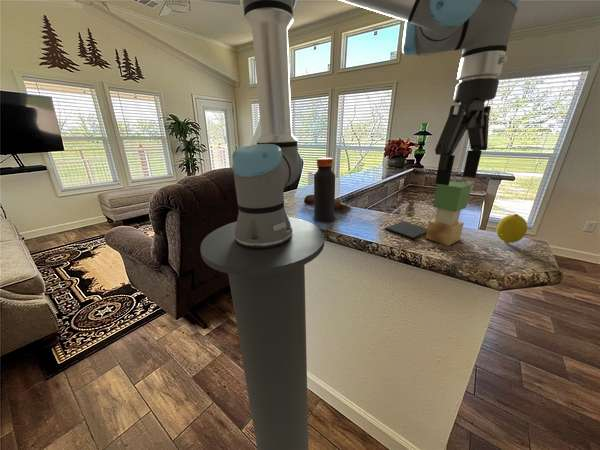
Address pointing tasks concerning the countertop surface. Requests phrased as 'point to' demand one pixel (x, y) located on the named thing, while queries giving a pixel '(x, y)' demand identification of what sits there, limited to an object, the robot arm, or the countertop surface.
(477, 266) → the countertop surface
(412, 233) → the coaster
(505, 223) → the lemon
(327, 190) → the bottle
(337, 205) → the sunglasses case
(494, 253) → the countertop surface
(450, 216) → the cream block
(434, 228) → the maple block
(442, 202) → the green block
